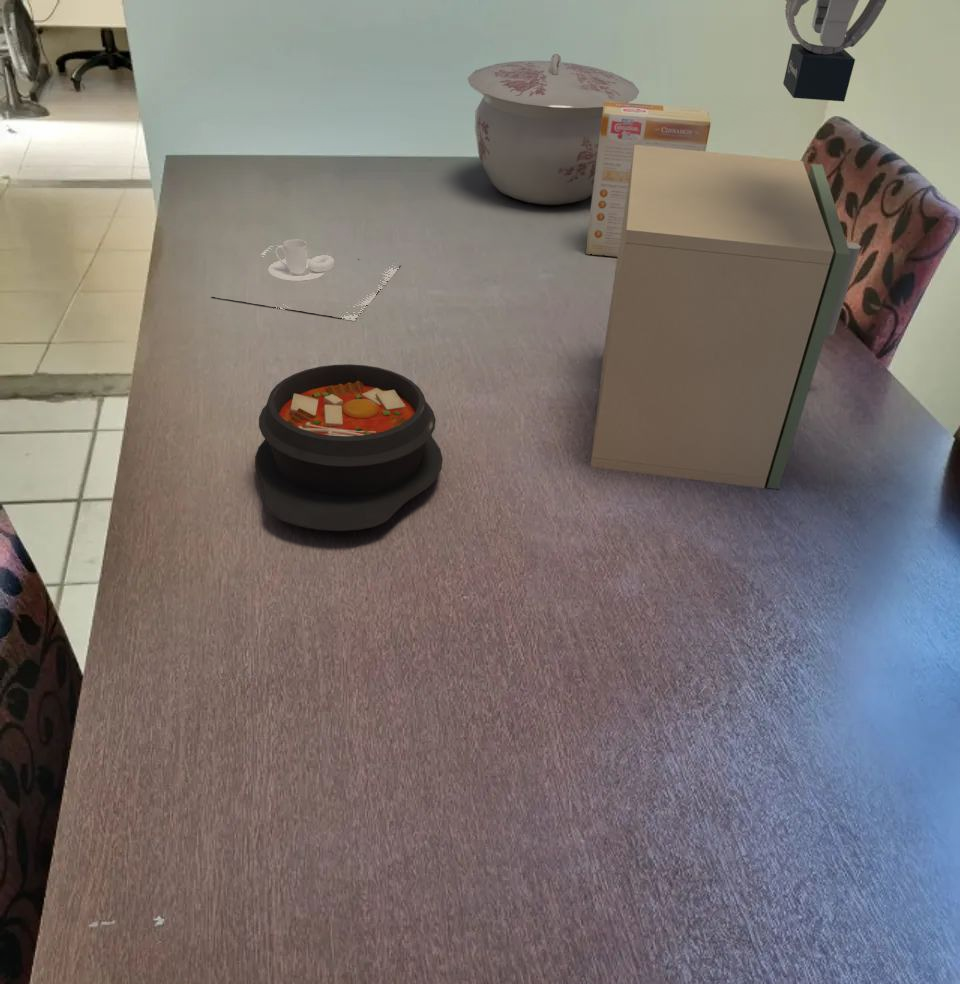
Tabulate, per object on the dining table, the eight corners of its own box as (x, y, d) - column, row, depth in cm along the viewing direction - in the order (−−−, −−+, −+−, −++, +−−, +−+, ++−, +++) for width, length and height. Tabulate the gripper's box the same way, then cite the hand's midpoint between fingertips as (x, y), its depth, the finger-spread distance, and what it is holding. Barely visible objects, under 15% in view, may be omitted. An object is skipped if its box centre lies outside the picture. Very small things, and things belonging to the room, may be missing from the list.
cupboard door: (814, 379, 119) (879, 170, 103) (836, 497, 100) (920, 262, 83) (756, 372, 120) (811, 163, 103) (766, 488, 100) (836, 252, 84)
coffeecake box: (682, 247, 150) (709, 107, 137) (685, 264, 145) (712, 121, 132) (586, 238, 151) (603, 98, 138) (585, 255, 146) (603, 111, 133)
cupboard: (748, 372, 120) (803, 160, 103) (764, 489, 100) (834, 250, 84) (603, 356, 121) (634, 144, 105) (590, 467, 102) (626, 229, 85)
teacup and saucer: (340, 267, 137) (338, 238, 134) (319, 288, 131) (317, 258, 129) (282, 258, 139) (279, 229, 136) (259, 279, 133) (255, 249, 130)
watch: (761, 82, 87) (792, -69, 80) (851, 88, 87) (891, -63, 80) (770, 96, 83) (804, -62, 76) (865, 103, 83) (908, -55, 75)
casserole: (419, 559, 88) (420, 480, 83) (220, 534, 90) (208, 455, 84) (459, 423, 107) (462, 351, 101) (293, 404, 108) (287, 332, 102)
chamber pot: (514, 229, 152) (526, 80, 138) (435, 176, 169) (438, 39, 155) (658, 208, 163) (682, 68, 149) (570, 160, 180) (583, 31, 166)
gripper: (952, -166, 65) (884, 69, 74) (898, -177, 80) (847, 19, 89) (856, -173, 65) (800, 62, 75) (820, -183, 80) (777, 13, 90)
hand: (825, 38), depth 82 cm, fingers closed on watch, 4 cm apart
